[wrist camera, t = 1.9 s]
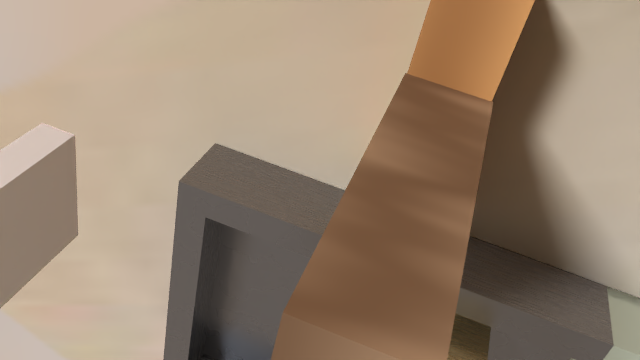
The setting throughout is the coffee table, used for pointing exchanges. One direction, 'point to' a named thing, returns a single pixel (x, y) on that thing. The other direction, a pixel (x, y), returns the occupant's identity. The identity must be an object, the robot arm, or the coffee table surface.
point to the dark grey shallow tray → (299, 245)
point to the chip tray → (624, 326)
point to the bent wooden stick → (408, 201)
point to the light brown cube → (469, 340)
